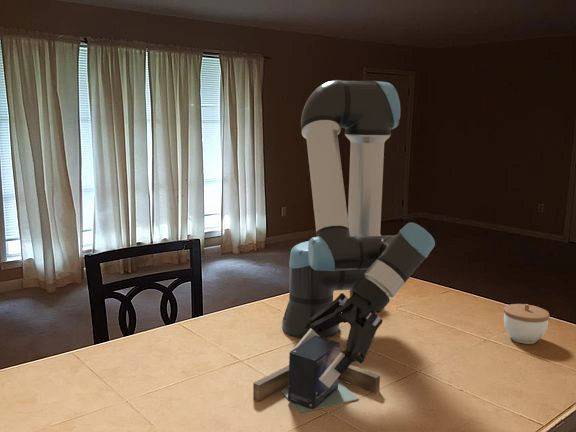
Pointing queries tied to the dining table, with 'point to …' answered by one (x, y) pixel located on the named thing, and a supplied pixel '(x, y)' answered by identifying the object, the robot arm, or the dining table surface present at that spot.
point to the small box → (311, 371)
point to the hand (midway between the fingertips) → (308, 369)
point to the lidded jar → (525, 322)
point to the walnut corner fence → (350, 376)
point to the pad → (328, 399)
